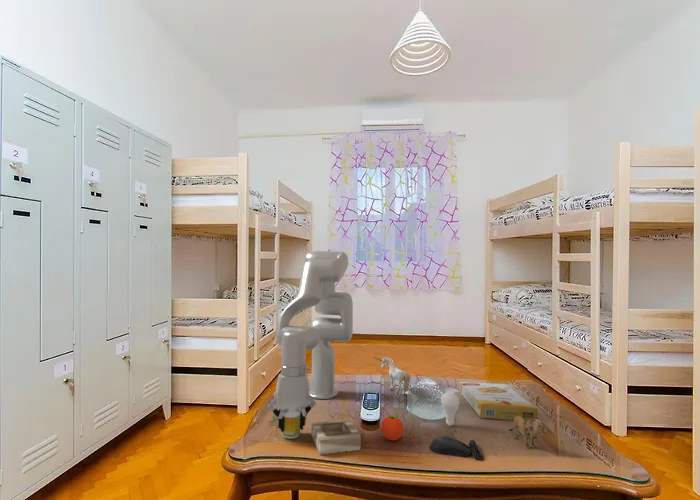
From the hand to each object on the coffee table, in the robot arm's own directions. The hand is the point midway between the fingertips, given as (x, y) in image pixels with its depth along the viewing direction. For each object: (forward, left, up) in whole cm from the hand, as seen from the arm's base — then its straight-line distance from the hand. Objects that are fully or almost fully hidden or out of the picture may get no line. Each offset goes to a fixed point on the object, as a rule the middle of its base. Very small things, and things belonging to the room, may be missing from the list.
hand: (291, 428), depth 114 cm
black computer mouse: (+21, +45, -3) cm, 50 cm away
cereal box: (-6, +81, -3) cm, 81 cm away
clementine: (+10, +30, -2) cm, 32 cm away
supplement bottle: (0, 0, -2) cm, 2 cm away
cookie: (-13, +1, -3) cm, 13 cm away
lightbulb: (+6, +53, -2) cm, 53 cm away
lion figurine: (+23, +69, -2) cm, 73 cm away
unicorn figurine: (-30, +47, -2) cm, 56 cm away
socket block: (+8, +12, -2) cm, 15 cm away
